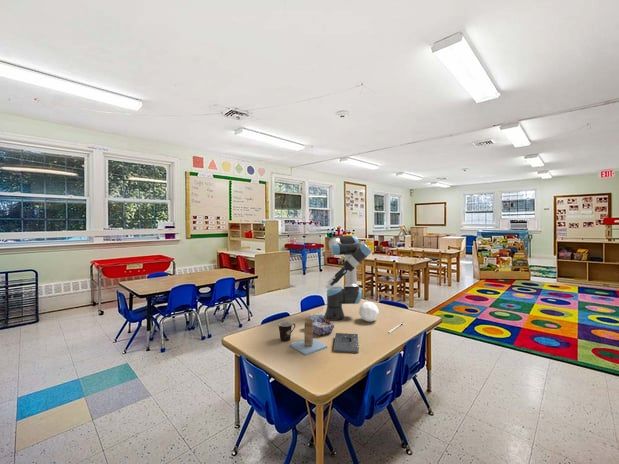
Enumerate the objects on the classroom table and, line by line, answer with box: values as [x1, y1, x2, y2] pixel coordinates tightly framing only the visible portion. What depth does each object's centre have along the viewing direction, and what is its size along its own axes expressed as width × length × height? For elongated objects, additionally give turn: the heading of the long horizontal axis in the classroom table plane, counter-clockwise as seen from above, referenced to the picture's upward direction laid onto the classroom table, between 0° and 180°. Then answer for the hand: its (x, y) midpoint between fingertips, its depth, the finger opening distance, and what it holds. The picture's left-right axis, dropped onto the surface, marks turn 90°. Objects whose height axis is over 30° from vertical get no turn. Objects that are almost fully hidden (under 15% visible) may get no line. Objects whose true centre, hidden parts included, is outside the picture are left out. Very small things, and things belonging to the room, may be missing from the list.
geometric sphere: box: [358, 301, 380, 323], centre depth 218 cm, size 14×15×15 cm
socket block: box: [333, 332, 360, 354], centre depth 176 cm, size 20×14×3 cm
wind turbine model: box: [387, 321, 404, 334], centre depth 207 cm, size 16×2×30 cm
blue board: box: [289, 338, 328, 356], centre depth 174 cm, size 16×16×1 cm
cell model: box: [307, 312, 335, 336], centre depth 198 cm, size 13×11×20 cm
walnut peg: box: [303, 318, 314, 347], centre depth 173 cm, size 4×4×15 cm
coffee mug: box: [277, 321, 296, 342], centre depth 185 cm, size 12×9×10 cm
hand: (328, 285), depth 191 cm, fingers open, 13 cm apart
